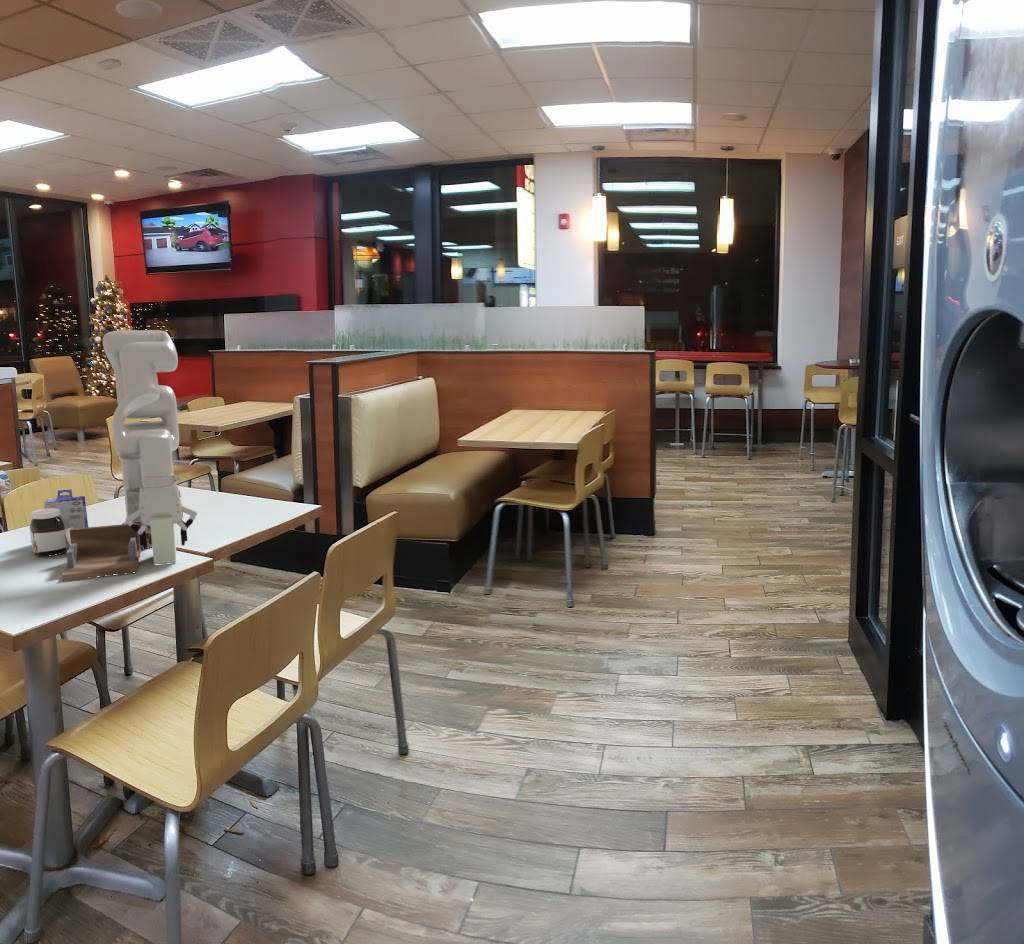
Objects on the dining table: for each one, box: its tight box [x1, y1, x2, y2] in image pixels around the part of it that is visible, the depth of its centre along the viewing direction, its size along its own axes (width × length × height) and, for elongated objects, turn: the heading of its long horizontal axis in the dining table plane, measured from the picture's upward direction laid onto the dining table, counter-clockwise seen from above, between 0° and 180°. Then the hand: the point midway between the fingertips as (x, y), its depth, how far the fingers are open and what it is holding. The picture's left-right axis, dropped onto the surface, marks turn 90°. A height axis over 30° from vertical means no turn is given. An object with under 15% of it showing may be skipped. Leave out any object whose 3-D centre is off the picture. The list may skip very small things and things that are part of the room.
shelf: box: [61, 523, 142, 582], centre depth 204 cm, size 18×16×8 cm
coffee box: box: [126, 486, 152, 549], centre depth 225 cm, size 9×6×16 cm
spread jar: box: [29, 508, 74, 557], centre depth 217 cm, size 12×11×12 cm
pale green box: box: [150, 516, 177, 566], centre depth 210 cm, size 10×5×12 cm, turn 21°
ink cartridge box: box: [44, 489, 89, 543], centre depth 228 cm, size 10×6×14 cm, turn 112°
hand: (164, 545), depth 210 cm, fingers open, 8 cm apart
